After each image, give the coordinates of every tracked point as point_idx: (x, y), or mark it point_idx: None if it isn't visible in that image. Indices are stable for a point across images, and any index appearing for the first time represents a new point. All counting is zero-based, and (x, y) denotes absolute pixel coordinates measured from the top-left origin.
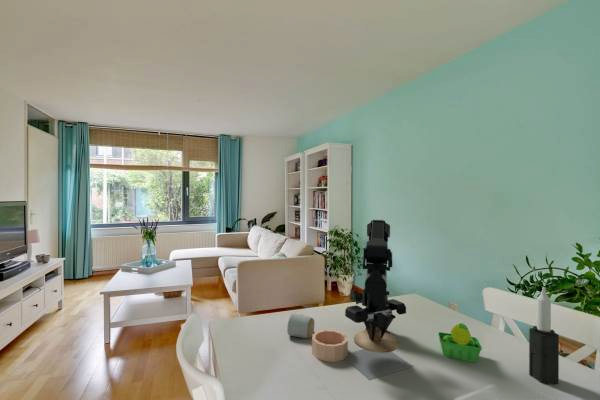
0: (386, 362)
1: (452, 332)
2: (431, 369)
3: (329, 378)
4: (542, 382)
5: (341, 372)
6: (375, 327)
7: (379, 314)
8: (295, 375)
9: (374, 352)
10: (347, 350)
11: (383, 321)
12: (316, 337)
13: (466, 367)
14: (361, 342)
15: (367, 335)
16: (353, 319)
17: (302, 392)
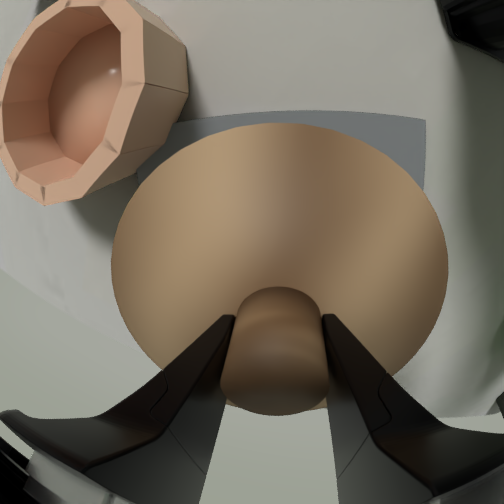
0: None
1: None
2: (428, 343)
3: (68, 261)
4: (496, 400)
5: (104, 248)
6: (205, 462)
7: (384, 501)
8: (7, 213)
9: None
10: (148, 149)
11: (345, 474)
12: (28, 55)
13: (490, 352)
14: (145, 311)
15: (253, 237)
16: (8, 455)
17: (24, 281)
